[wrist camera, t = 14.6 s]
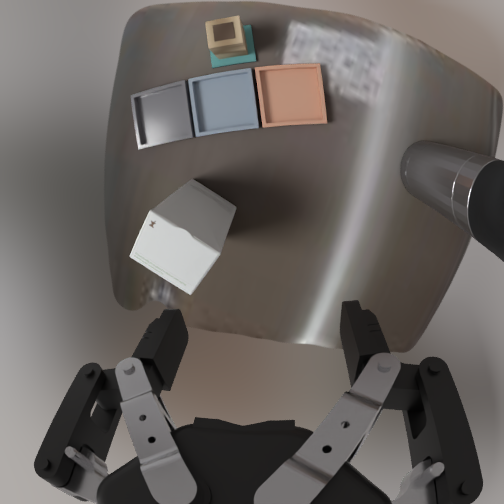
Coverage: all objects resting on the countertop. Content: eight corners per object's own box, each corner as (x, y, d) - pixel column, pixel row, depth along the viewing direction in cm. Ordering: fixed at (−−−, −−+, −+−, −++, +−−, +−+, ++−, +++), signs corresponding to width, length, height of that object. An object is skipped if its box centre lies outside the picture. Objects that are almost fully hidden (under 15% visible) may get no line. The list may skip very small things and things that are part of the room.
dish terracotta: (318, 65, 30) (319, 63, 29) (325, 123, 33) (327, 123, 32) (255, 69, 31) (254, 67, 30) (263, 127, 35) (262, 127, 33)
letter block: (244, 30, 28) (238, 14, 22) (248, 54, 30) (242, 42, 24) (215, 35, 28) (205, 21, 23) (218, 59, 30) (208, 48, 25)
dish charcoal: (187, 81, 32) (184, 79, 31) (195, 136, 36) (192, 137, 34) (135, 96, 33) (130, 95, 32) (143, 148, 37) (138, 149, 36)
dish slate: (251, 70, 31) (250, 67, 30) (259, 127, 35) (258, 127, 33) (191, 80, 32) (188, 79, 31) (198, 136, 36) (196, 136, 34)
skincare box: (172, 210, 41) (124, 256, 27) (193, 175, 38) (147, 206, 24) (217, 240, 43) (189, 298, 29) (241, 206, 40) (221, 254, 26)
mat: (251, 25, 28) (250, 24, 27) (256, 61, 30) (256, 60, 30) (208, 32, 29) (207, 31, 28) (212, 68, 31) (212, 67, 31)
